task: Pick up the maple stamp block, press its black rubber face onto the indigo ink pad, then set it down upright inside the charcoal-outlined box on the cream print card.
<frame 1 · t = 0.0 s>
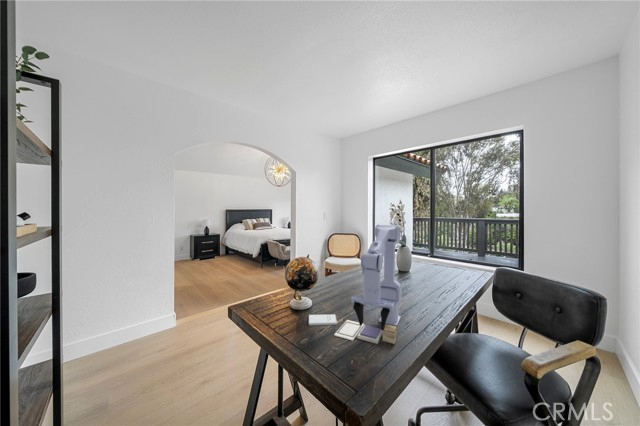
hand: (371, 326, 82), 10 cm above the table, tool pointing down, fingers open, 7 cm apart
ink pad: (370, 335, 95), on the table
stamp: (389, 340, 91), on the table
external hard drive: (322, 322, 108), on the table
print card: (349, 329, 99), on the table
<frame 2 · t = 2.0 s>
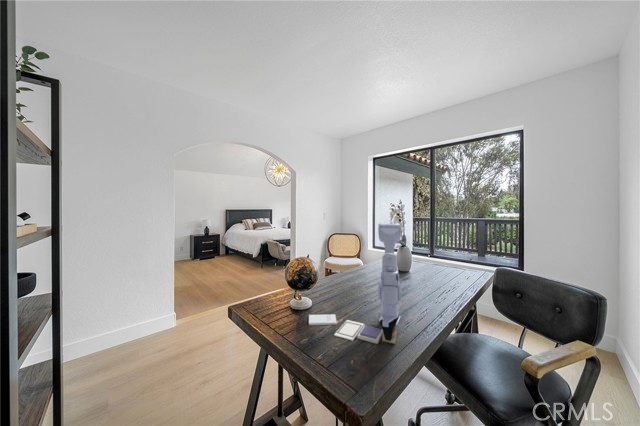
hand: (389, 336, 91), 1 cm above the table, tool pointing down, fingers closed on stamp, 4 cm apart
stamp: (389, 340, 91), on the table, touching gripper
everything else where it was.
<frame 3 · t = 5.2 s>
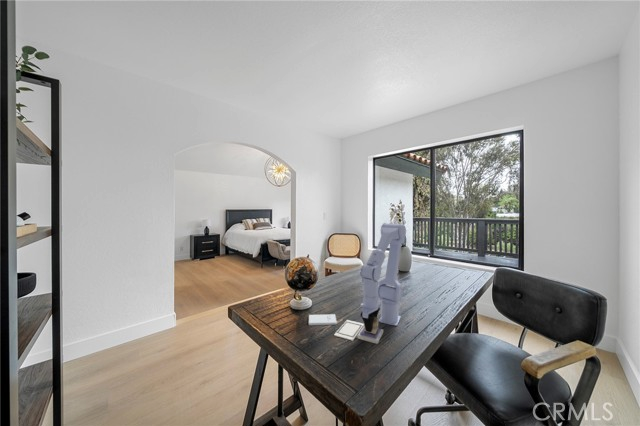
hand: (370, 328, 95), 3 cm above the table, tool pointing down, fingers closed on stamp, 4 cm apart
stamp: (371, 331, 95), point 2 cm above the table, touching gripper, ink pad
everything else where it was.
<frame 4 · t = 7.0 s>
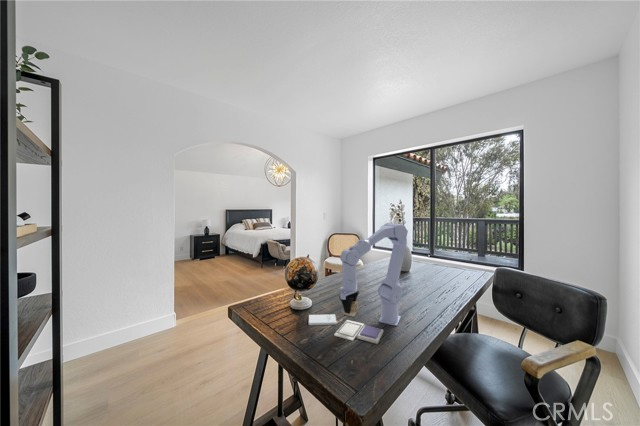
hand: (349, 310, 99), 8 cm above the table, tool pointing down, fingers closed on stamp, 4 cm apart
stamp: (350, 314, 99), point 7 cm above the table, touching gripper
everything else where it was.
when the fingers open (3 cm above the table, at t = 8.7 s): stamp stays where it is, resting on print card.
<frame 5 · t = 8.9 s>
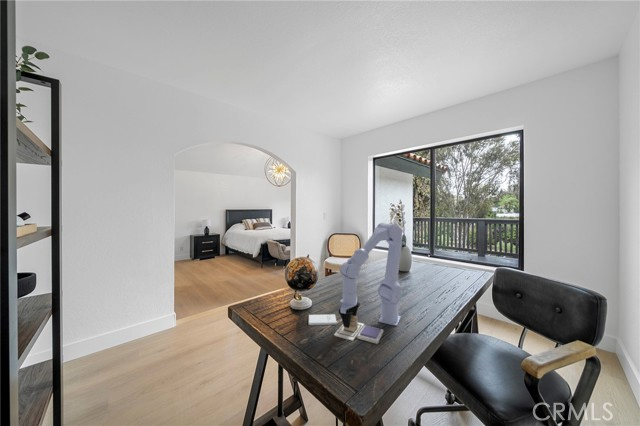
hand: (349, 323, 99), 3 cm above the table, tool pointing down, fingers open, 6 cm apart
stamp: (350, 329, 99), resting on print card
everything else where it was.
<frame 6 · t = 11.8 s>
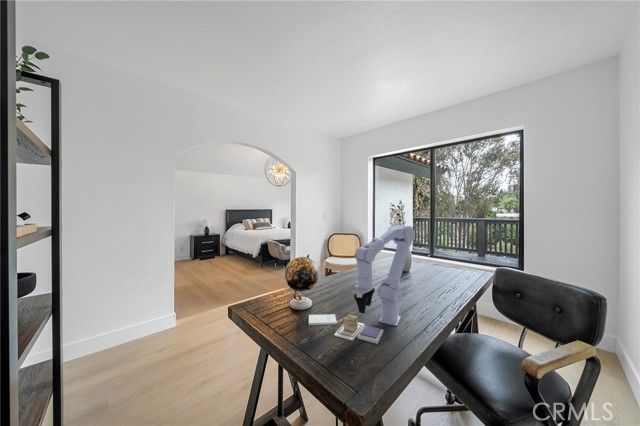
hand: (364, 308, 98), 9 cm above the table, tool pointing down, fingers open, 7 cm apart
nothing on the table moved.
at the end: stamp 0.5 cm off-centre on the print card, point 0.4 cm above the print card's base; stamp tilted 0°; the gripper is holding nothing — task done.
